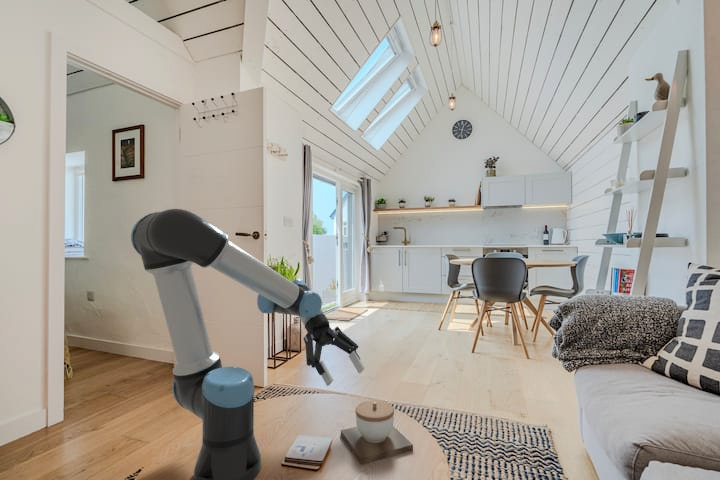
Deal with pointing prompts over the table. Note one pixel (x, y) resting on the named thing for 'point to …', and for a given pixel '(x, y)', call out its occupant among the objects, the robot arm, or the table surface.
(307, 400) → the table surface
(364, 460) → the brown metal plate
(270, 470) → the table surface
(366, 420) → the lidded jar
